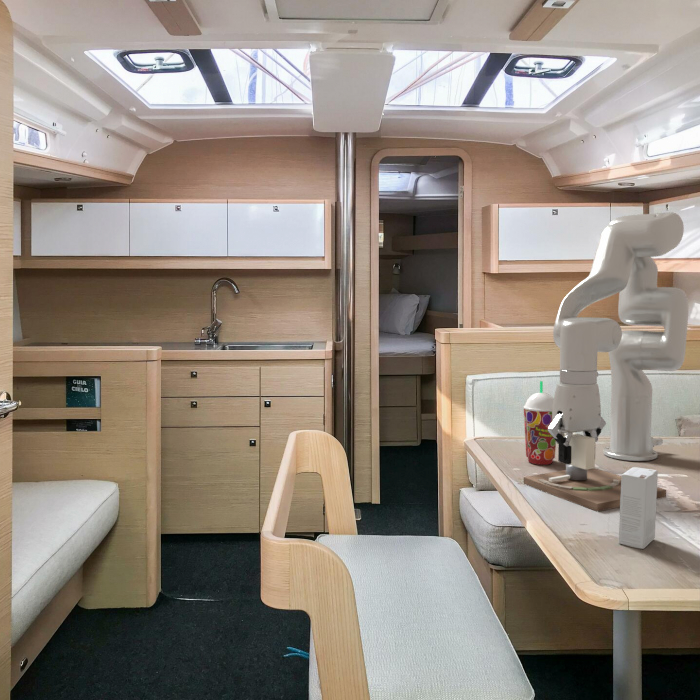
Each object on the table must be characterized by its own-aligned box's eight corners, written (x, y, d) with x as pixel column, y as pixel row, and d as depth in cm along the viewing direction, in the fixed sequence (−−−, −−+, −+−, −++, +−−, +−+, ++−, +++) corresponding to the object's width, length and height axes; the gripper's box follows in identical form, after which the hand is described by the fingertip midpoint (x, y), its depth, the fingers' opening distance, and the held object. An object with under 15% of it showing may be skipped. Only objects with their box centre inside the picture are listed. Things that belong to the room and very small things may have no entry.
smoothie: (539, 468, 160) (540, 384, 159) (515, 460, 168) (516, 380, 166) (565, 463, 164) (566, 382, 162) (541, 456, 172) (542, 378, 170)
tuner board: (587, 472, 156) (588, 464, 156) (666, 496, 137) (666, 488, 137) (523, 483, 148) (523, 475, 148) (597, 511, 129) (597, 502, 129)
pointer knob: (571, 472, 150) (571, 431, 149) (597, 480, 143) (598, 437, 143) (537, 477, 146) (538, 435, 145) (563, 486, 139) (563, 442, 138)
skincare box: (629, 534, 117) (631, 465, 116) (656, 539, 114) (658, 469, 113) (617, 544, 113) (618, 473, 111) (645, 551, 110) (647, 477, 109)
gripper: (594, 373, 151) (593, 452, 153) (534, 378, 143) (533, 462, 145) (621, 377, 144) (619, 459, 146) (560, 383, 137) (558, 470, 138)
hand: (576, 460), depth 145 cm, fingers open, 6 cm apart
